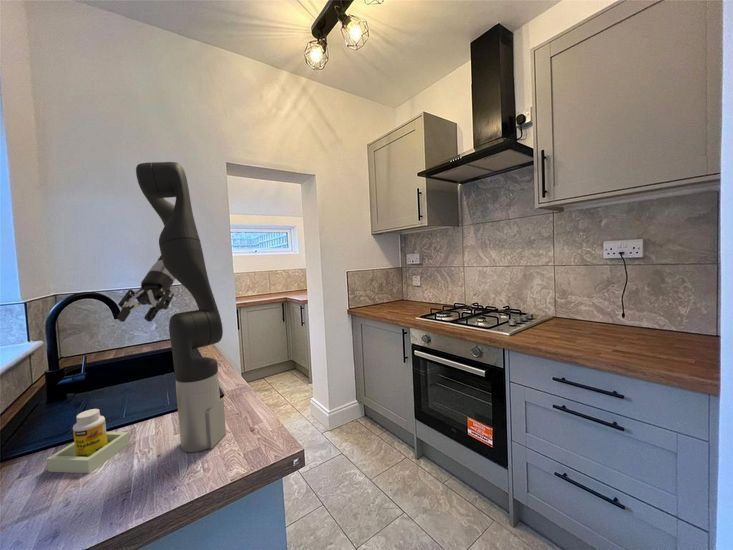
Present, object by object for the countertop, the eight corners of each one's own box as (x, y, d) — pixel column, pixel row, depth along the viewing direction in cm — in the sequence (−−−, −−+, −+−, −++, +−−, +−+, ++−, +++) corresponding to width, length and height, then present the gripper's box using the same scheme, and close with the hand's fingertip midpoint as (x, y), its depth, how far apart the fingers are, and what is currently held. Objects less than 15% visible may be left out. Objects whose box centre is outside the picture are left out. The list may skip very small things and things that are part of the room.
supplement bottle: (72, 465, 67) (66, 422, 66) (81, 451, 71) (76, 411, 71) (104, 456, 69) (99, 415, 68) (111, 443, 74) (106, 404, 73)
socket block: (129, 443, 75) (128, 432, 74) (89, 473, 65) (87, 460, 64) (93, 442, 75) (92, 431, 75) (48, 471, 66) (46, 458, 65)
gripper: (133, 270, 94) (101, 313, 83) (175, 269, 93) (148, 313, 82) (148, 284, 100) (120, 327, 89) (188, 284, 98) (164, 326, 88)
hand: (133, 320), depth 86 cm, fingers open, 8 cm apart
